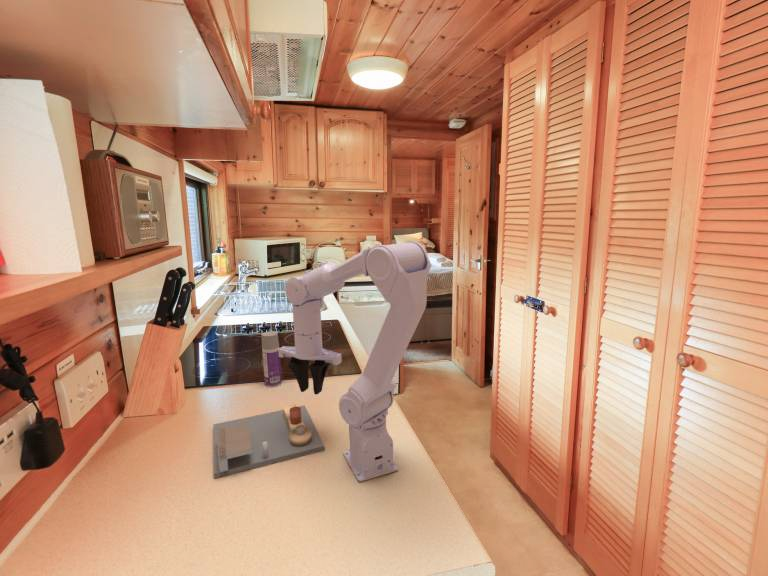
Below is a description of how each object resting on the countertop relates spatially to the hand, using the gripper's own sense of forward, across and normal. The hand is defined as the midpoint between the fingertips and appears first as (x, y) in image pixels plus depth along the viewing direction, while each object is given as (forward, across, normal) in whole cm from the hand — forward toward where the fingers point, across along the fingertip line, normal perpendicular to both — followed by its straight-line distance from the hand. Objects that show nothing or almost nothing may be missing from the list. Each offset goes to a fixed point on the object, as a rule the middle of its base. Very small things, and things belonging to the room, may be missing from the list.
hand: (311, 391), depth 86 cm
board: (+10, +8, +6) cm, 14 cm away
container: (+10, +25, -18) cm, 32 cm away
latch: (+9, +4, +1) cm, 10 cm away
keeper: (+10, +9, +14) cm, 20 cm away
